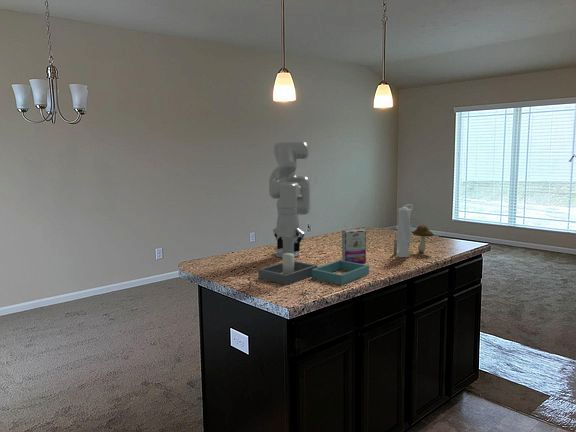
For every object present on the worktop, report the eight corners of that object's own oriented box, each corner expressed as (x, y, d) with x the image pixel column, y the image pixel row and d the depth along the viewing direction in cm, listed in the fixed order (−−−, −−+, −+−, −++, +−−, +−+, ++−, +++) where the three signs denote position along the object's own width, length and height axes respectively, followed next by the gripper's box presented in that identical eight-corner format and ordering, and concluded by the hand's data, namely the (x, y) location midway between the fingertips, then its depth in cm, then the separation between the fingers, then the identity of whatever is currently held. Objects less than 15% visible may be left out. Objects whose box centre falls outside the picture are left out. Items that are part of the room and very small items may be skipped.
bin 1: (258, 278, 202) (258, 269, 202) (290, 268, 219) (290, 260, 218) (286, 285, 192) (286, 275, 191) (317, 274, 209) (317, 265, 208)
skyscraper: (408, 255, 247) (410, 203, 243) (413, 258, 239) (415, 205, 235) (393, 255, 247) (394, 203, 243) (397, 258, 239) (398, 205, 235)
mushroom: (428, 255, 244) (429, 227, 242) (408, 252, 252) (409, 225, 250) (435, 252, 251) (437, 225, 249) (416, 249, 259) (417, 223, 256)
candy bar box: (361, 260, 234) (362, 228, 231) (365, 262, 229) (366, 230, 227) (341, 262, 231) (341, 229, 228) (345, 264, 226) (345, 231, 224)
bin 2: (311, 278, 202) (311, 269, 201) (339, 268, 219) (339, 260, 218) (342, 284, 192) (342, 275, 191) (368, 274, 208) (369, 265, 208)
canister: (280, 276, 205) (280, 254, 204) (287, 273, 209) (287, 252, 208) (289, 278, 202) (289, 256, 200) (296, 275, 206) (296, 254, 204)
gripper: (267, 211, 204) (268, 248, 206) (298, 213, 193) (298, 253, 195) (279, 209, 209) (279, 246, 211) (309, 212, 198) (309, 251, 200)
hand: (288, 249), depth 203 cm, fingers open, 9 cm apart
